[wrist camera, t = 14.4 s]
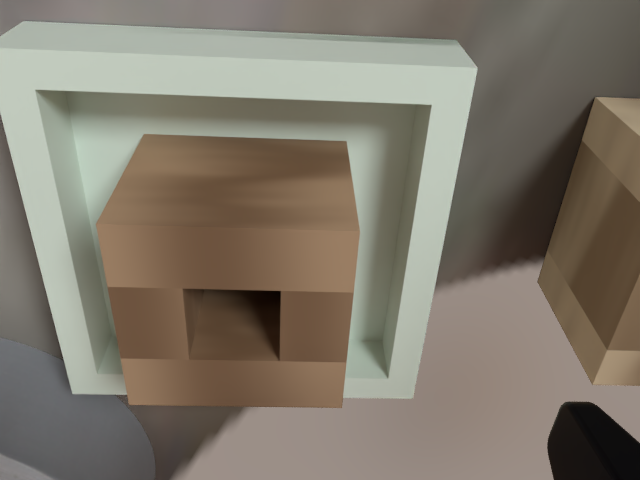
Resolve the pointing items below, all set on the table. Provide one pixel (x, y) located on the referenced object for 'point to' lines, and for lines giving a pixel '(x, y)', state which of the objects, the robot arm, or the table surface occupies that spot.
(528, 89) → the table surface
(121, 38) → the tray
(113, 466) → the tape roll
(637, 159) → the bore block
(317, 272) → the block
